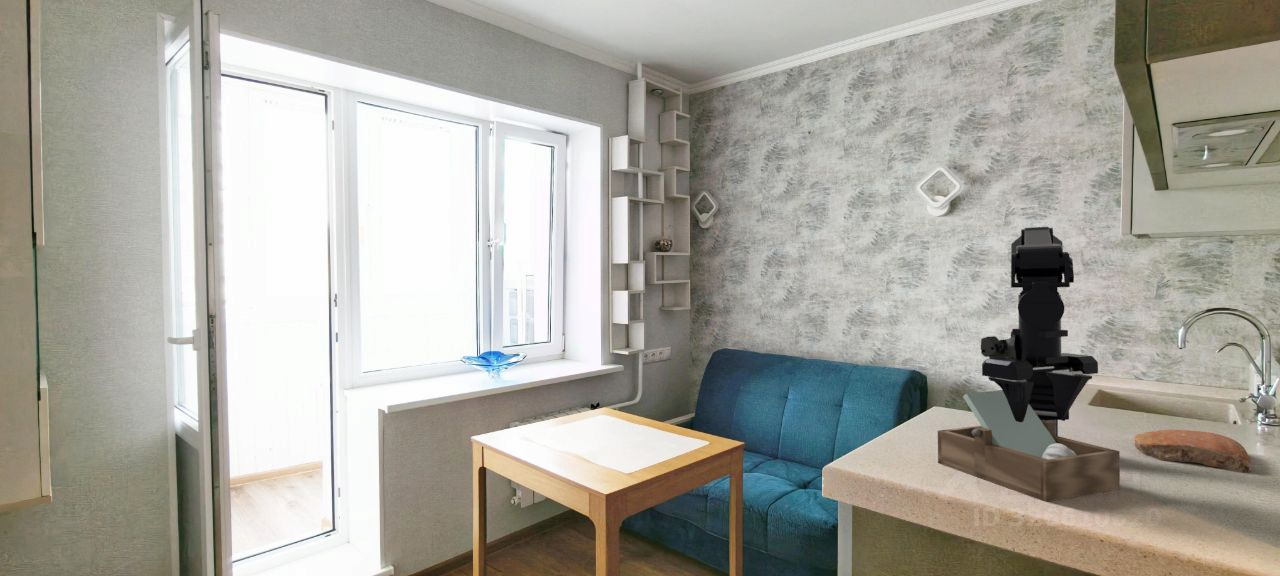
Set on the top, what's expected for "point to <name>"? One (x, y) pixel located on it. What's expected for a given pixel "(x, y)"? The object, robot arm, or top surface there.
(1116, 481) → the frame
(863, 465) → the top surface
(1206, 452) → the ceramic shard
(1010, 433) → the trapdoor plate
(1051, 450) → the garlic
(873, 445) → the top surface
